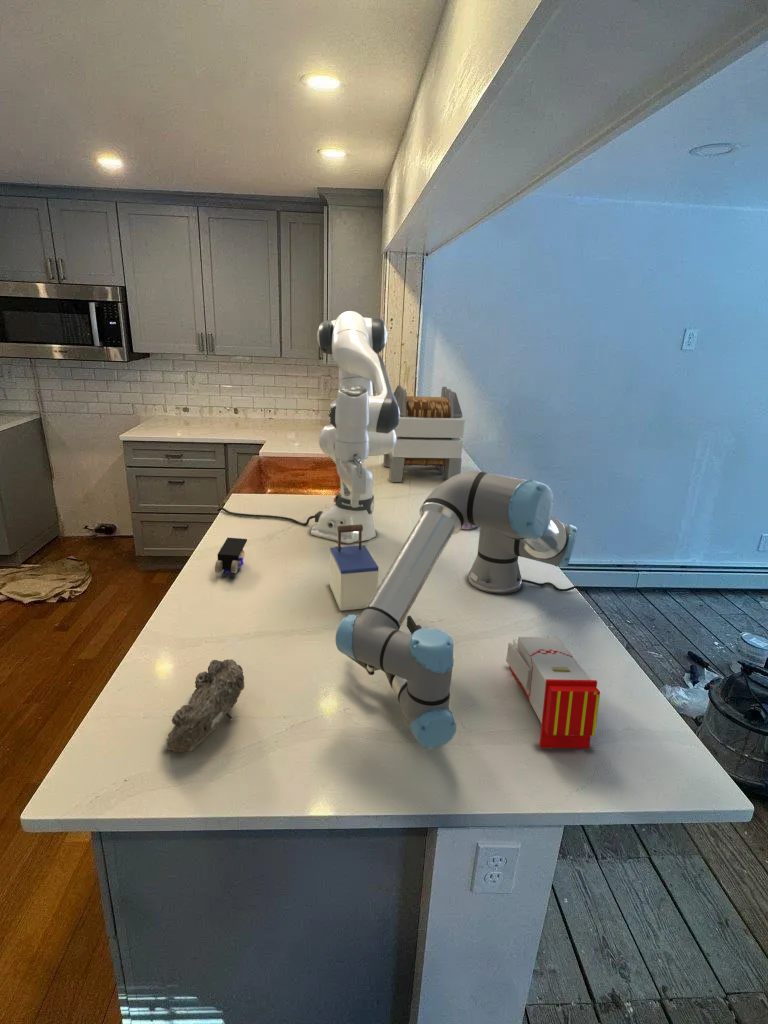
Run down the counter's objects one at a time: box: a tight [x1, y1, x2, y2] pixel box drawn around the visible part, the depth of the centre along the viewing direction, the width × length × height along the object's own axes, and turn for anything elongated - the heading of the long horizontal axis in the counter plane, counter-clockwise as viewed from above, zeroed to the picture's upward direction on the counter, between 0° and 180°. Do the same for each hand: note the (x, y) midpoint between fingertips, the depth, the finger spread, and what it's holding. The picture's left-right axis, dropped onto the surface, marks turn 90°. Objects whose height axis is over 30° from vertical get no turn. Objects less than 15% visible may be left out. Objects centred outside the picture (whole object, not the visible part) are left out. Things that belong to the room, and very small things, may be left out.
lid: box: [329, 524, 380, 574], centre depth 151 cm, size 15×10×8 cm, turn 16°
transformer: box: [383, 384, 465, 483], centre depth 268 cm, size 34×33×41 cm
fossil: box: [166, 658, 245, 754], centre depth 106 cm, size 22×10×15 cm
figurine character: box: [214, 537, 248, 578], centre depth 166 cm, size 7×8×15 cm
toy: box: [505, 636, 601, 749], centre depth 115 cm, size 12×13×30 cm
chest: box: [329, 552, 379, 612], centre depth 154 cm, size 14×10×11 cm
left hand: (350, 500), depth 151 cm, fingers open, 8 cm apart
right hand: (380, 623), depth 129 cm, fingers open, 13 cm apart
